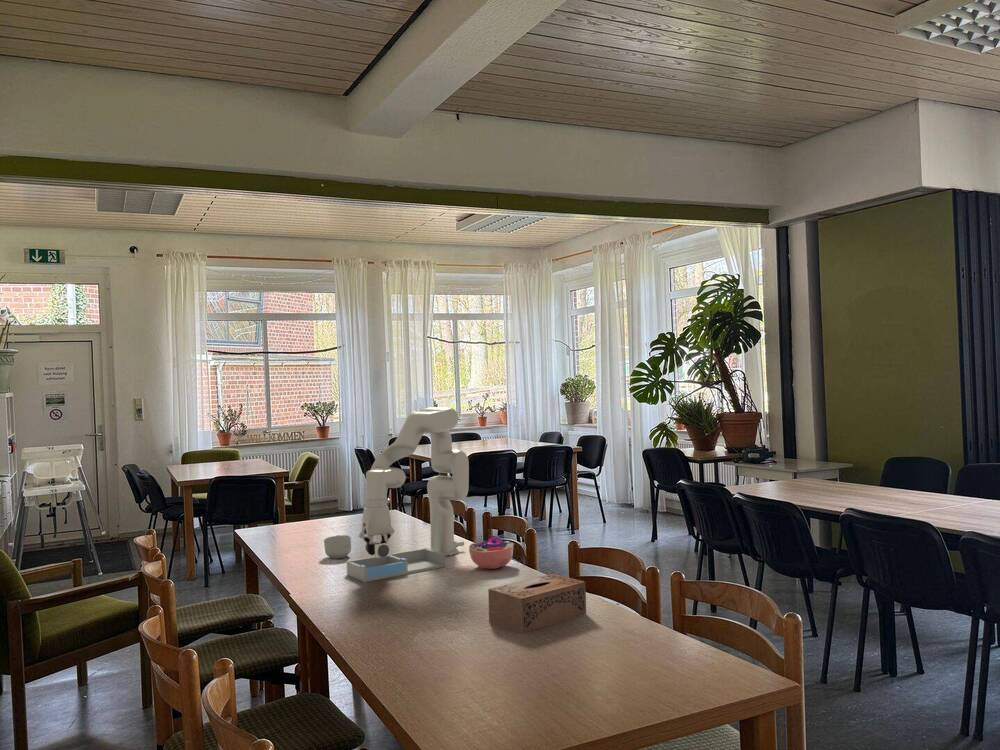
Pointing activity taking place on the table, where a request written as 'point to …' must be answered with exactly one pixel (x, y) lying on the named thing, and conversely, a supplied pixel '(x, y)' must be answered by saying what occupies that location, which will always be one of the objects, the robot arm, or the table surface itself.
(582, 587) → the tissue box cover
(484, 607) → the table surface
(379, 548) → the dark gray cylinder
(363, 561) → the divided grey tray
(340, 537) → the teacup
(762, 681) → the table surface
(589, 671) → the table surface
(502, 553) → the cell model
